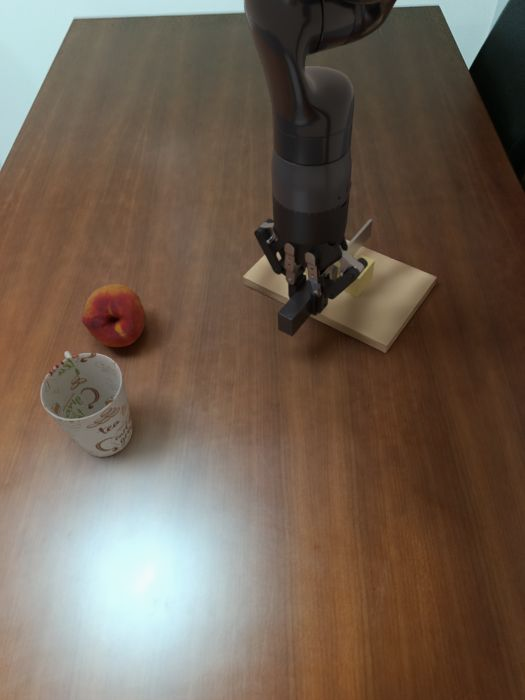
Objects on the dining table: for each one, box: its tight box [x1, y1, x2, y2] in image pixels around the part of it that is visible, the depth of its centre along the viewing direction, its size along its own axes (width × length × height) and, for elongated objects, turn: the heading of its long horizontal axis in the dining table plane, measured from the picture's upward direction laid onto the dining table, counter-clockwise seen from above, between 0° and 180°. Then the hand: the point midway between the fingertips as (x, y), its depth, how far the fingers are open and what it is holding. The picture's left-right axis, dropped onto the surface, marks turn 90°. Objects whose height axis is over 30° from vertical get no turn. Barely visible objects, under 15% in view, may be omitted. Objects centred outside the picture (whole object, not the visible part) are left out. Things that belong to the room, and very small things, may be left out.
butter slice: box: [344, 255, 375, 297], centre depth 76 cm, size 2×4×4 cm, turn 145°
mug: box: [39, 350, 134, 458], centre depth 64 cm, size 8×13×10 cm, turn 33°
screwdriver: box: [277, 218, 373, 337], centre depth 71 cm, size 20×2×3 cm, turn 145°
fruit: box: [81, 283, 146, 348], centre depth 73 cm, size 8×8×8 cm
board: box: [242, 239, 437, 354], centre depth 79 cm, size 22×14×2 cm, turn 55°
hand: (308, 305), depth 70 cm, fingers closed on screwdriver, 2 cm apart
